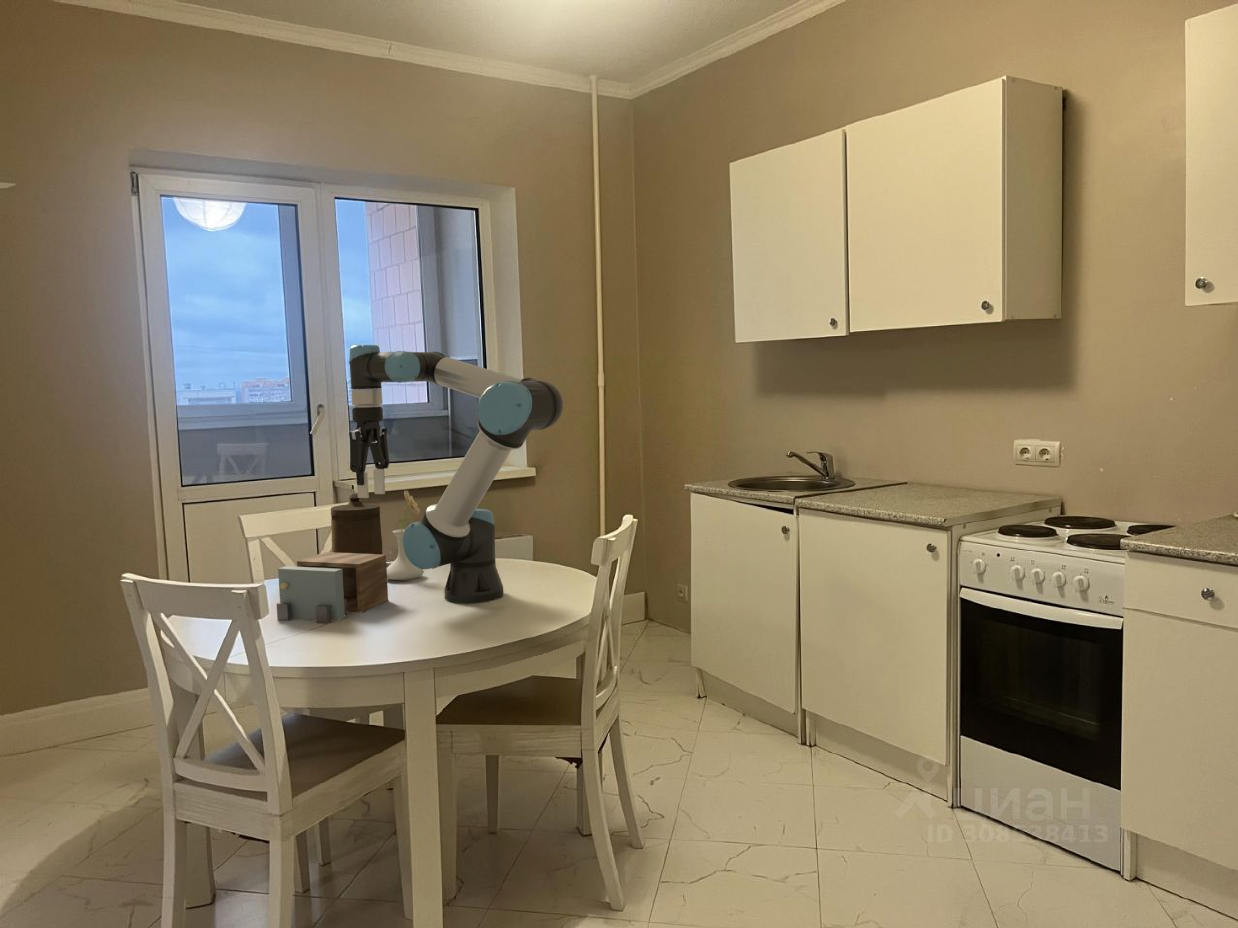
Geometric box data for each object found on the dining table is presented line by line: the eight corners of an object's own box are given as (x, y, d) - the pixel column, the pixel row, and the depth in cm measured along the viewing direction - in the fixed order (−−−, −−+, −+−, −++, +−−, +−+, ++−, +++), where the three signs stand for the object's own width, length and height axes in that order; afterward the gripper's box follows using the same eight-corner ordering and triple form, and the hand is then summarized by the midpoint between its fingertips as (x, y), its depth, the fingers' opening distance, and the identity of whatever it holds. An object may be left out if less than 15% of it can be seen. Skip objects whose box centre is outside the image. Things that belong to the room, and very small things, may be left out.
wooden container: (370, 558, 299) (367, 489, 297) (391, 564, 288) (387, 493, 285) (325, 564, 290) (321, 494, 287) (345, 572, 278) (341, 498, 276)
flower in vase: (411, 584, 260) (407, 494, 257) (375, 582, 263) (370, 493, 261) (434, 574, 272) (430, 488, 269) (399, 572, 275) (395, 488, 273)
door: (344, 618, 225) (342, 568, 223) (334, 622, 221) (331, 572, 219) (288, 614, 230) (286, 566, 228) (277, 618, 226) (274, 569, 224)
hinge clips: (347, 614, 227) (346, 598, 227) (327, 623, 220) (326, 606, 219) (298, 611, 232) (297, 595, 231) (277, 619, 224) (276, 603, 224)
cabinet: (388, 600, 241) (385, 554, 240) (361, 612, 229) (358, 564, 228) (328, 596, 246) (326, 552, 245) (299, 608, 235) (296, 561, 234)
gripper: (376, 404, 249) (380, 490, 251) (331, 408, 230) (336, 500, 232) (400, 404, 246) (404, 491, 248) (357, 407, 228) (362, 501, 230)
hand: (371, 495), depth 240 cm, fingers open, 7 cm apart
